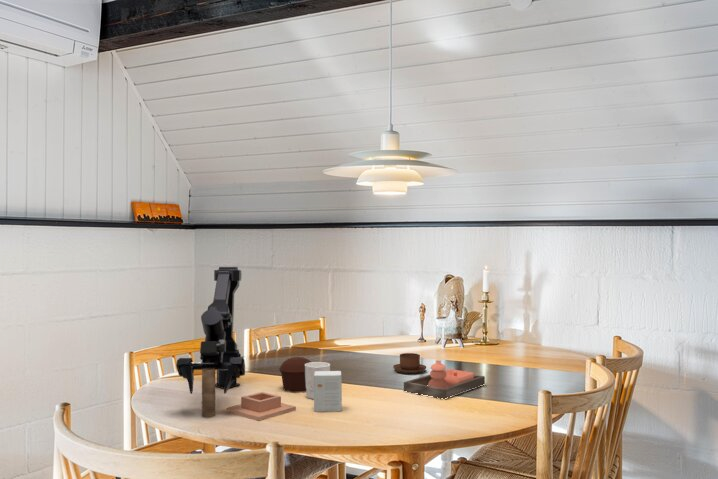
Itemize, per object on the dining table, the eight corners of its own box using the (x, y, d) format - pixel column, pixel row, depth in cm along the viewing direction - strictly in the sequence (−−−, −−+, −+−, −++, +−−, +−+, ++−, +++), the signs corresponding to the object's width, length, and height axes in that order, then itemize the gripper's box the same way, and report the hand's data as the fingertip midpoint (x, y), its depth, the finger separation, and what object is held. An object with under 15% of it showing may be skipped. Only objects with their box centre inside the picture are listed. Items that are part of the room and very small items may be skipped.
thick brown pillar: (199, 415, 184) (199, 369, 184) (210, 413, 187) (210, 367, 187) (207, 418, 182) (207, 371, 182) (217, 415, 185) (217, 369, 184)
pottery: (450, 381, 228) (450, 352, 228) (474, 385, 222) (474, 356, 221) (419, 390, 214) (420, 360, 214) (444, 395, 208) (444, 364, 208)
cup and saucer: (387, 370, 245) (387, 353, 245) (415, 367, 250) (415, 350, 250) (403, 376, 234) (403, 359, 234) (432, 373, 239) (432, 356, 239)
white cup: (316, 392, 211) (316, 360, 211) (335, 396, 206) (335, 364, 206) (299, 396, 205) (299, 364, 205) (318, 401, 200) (318, 368, 200)
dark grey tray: (403, 391, 212) (403, 382, 212) (445, 378, 231) (445, 369, 231) (444, 399, 202) (444, 390, 202) (484, 385, 221) (484, 376, 221)
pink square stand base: (226, 411, 189) (226, 397, 189) (263, 401, 200) (263, 388, 199) (258, 420, 180) (258, 406, 180) (295, 410, 190) (295, 396, 190)
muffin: (281, 393, 209) (281, 362, 209) (276, 385, 220) (276, 355, 219) (318, 391, 212) (318, 360, 212) (311, 383, 223) (311, 353, 223)
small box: (341, 406, 195) (341, 370, 195) (341, 411, 189) (341, 374, 189) (314, 406, 195) (314, 370, 194) (313, 411, 189) (313, 374, 189)
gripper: (177, 329, 187) (168, 377, 177) (244, 329, 189) (239, 376, 178) (183, 352, 195) (175, 399, 185) (247, 351, 197) (242, 398, 186)
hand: (207, 392), depth 183 cm, fingers open, 9 cm apart
